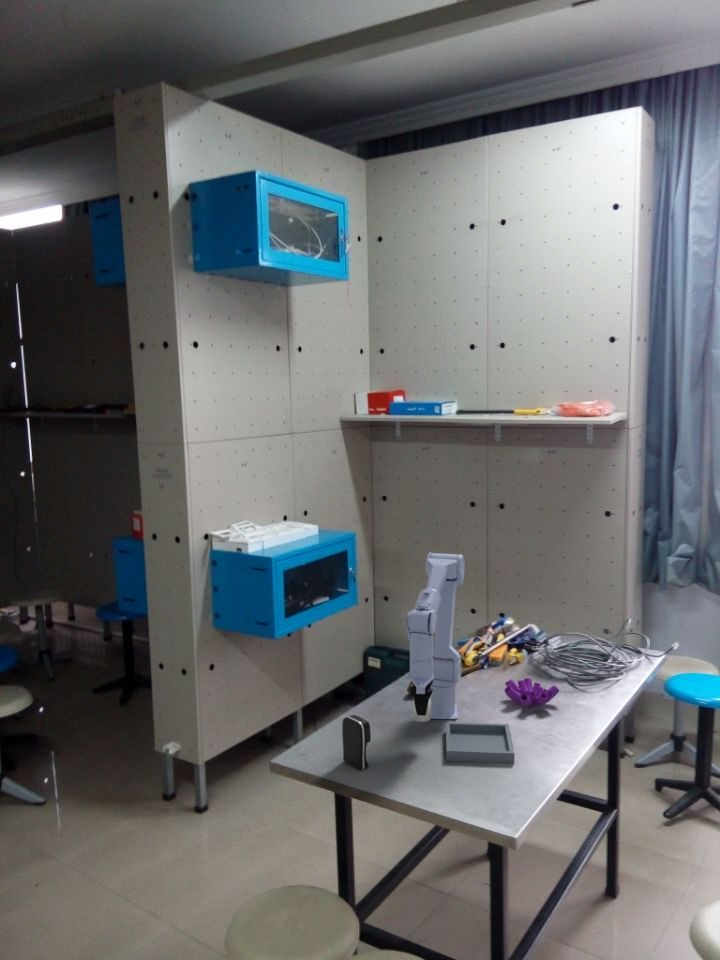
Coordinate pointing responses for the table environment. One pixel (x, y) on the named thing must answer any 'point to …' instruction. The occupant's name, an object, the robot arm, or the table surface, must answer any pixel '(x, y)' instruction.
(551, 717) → the table surface
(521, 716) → the table surface
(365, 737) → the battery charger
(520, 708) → the table surface
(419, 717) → the cylinder
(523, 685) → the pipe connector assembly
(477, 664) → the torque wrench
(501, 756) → the tray
